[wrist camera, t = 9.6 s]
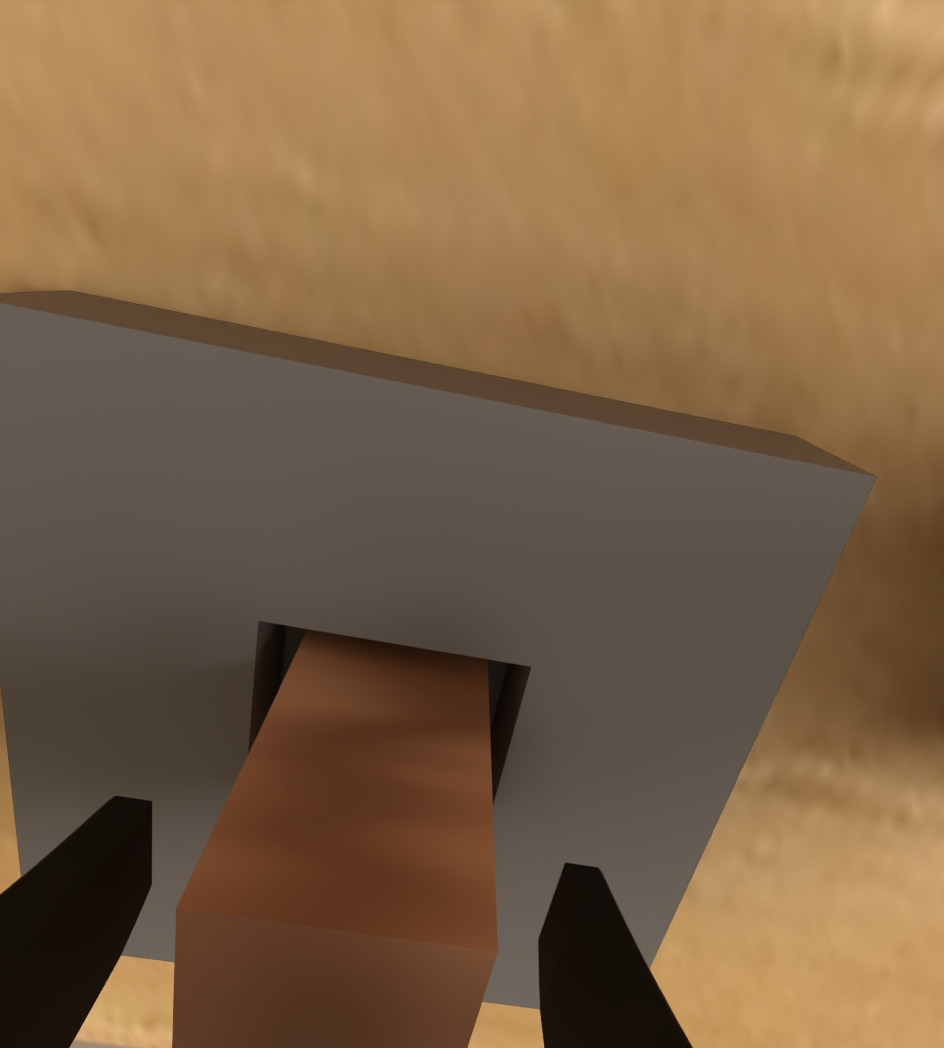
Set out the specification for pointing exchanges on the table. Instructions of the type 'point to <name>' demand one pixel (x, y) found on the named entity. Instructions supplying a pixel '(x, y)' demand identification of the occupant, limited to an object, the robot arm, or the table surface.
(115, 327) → the socket block
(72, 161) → the table surface
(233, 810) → the square peg
